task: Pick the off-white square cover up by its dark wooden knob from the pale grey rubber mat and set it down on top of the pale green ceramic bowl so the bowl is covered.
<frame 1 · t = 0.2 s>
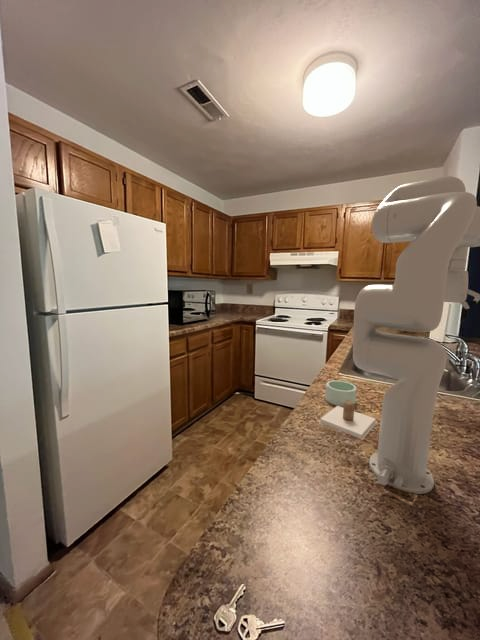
hand: (443, 319, 88), 31 cm above the worktop, tool pointing down, fingers open, 9 cm apart
mat: (347, 423, 82), on the worktop
cover: (347, 421, 82), point 1 cm above the worktop, touching mat
bowl: (339, 401, 97), on the worktop
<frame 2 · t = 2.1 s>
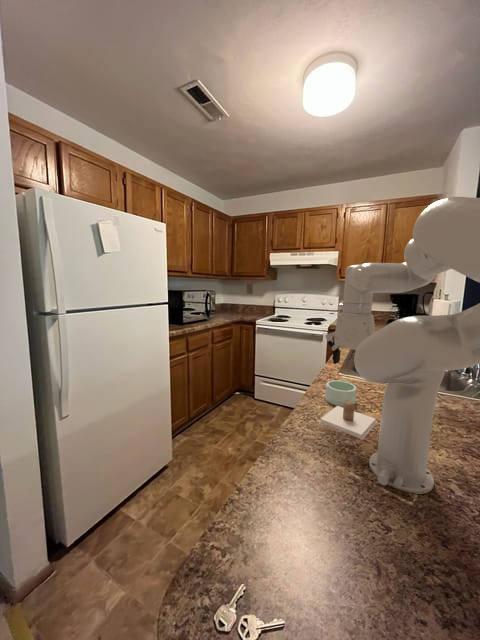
hand: (352, 366, 79), 18 cm above the worktop, tool pointing down, fingers open, 9 cm apart
nothing on the worktop moved.
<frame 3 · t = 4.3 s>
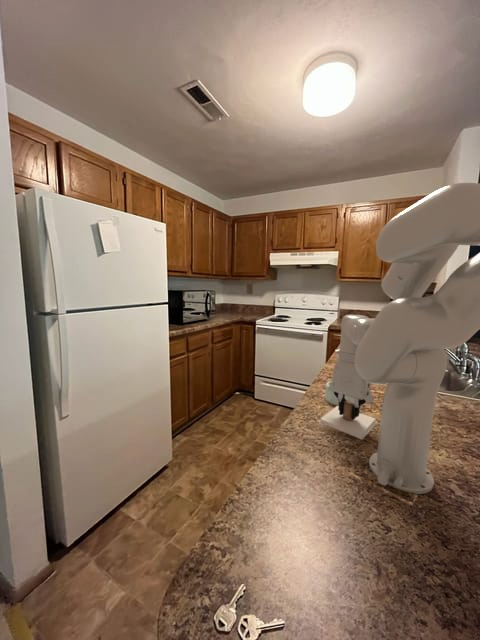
hand: (348, 414, 81), 3 cm above the worktop, tool pointing down, fingers closed on cover, 3 cm apart
cover: (347, 421, 82), point 1 cm above the worktop, touching gripper, mat
everything else where it was.
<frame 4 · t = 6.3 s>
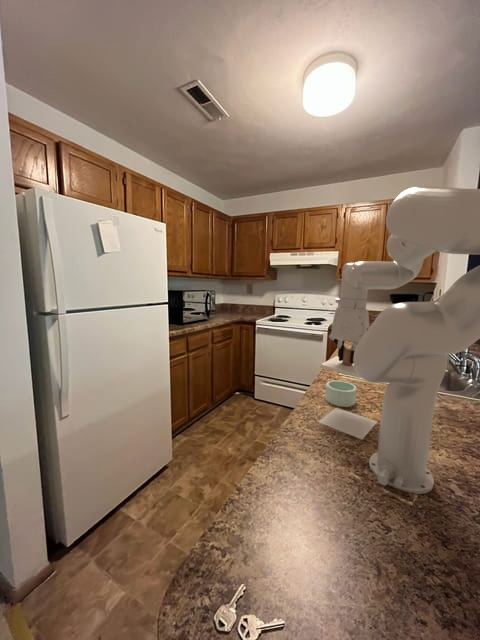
hand: (347, 360, 85), 18 cm above the worktop, tool pointing down, fingers closed on cover, 3 cm apart
cover: (346, 367, 86), point 16 cm above the worktop, touching gripper
everything else where it was.
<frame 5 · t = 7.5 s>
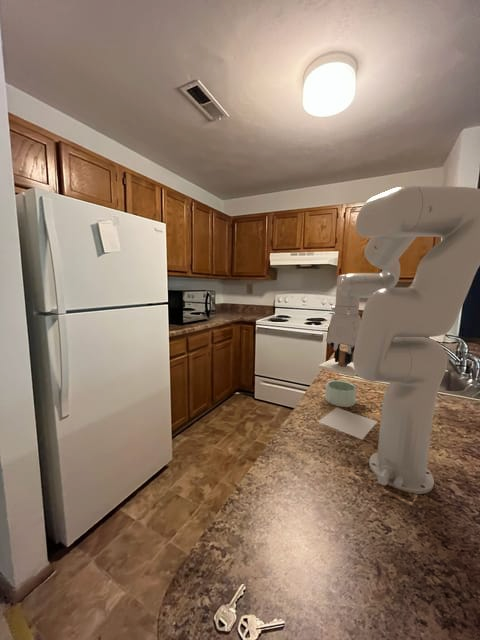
hand: (342, 362, 95), 15 cm above the worktop, tool pointing down, fingers closed on cover, 3 cm apart
cover: (342, 367, 95), point 13 cm above the worktop, touching gripper
everything else where it was.
when the fingers open (9 cm above the worktop, at t = 8.6 s): cover stays where it is, resting on bowl.
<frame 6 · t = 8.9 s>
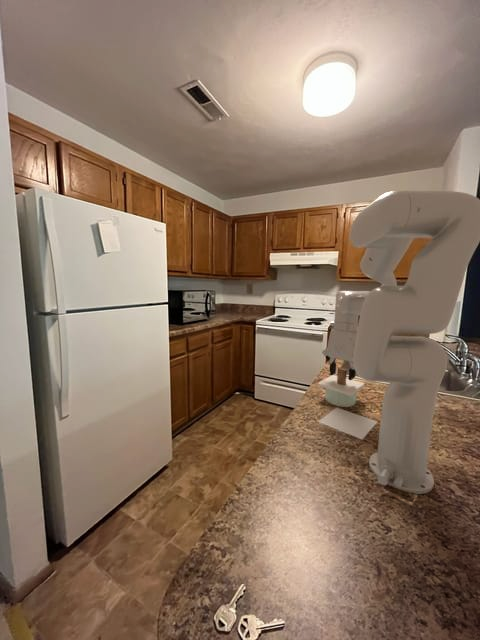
hand: (341, 376, 95), 10 cm above the worktop, tool pointing down, fingers open, 6 cm apart
cover: (341, 385, 96), point 6 cm above the worktop, touching bowl
everything else where it was.
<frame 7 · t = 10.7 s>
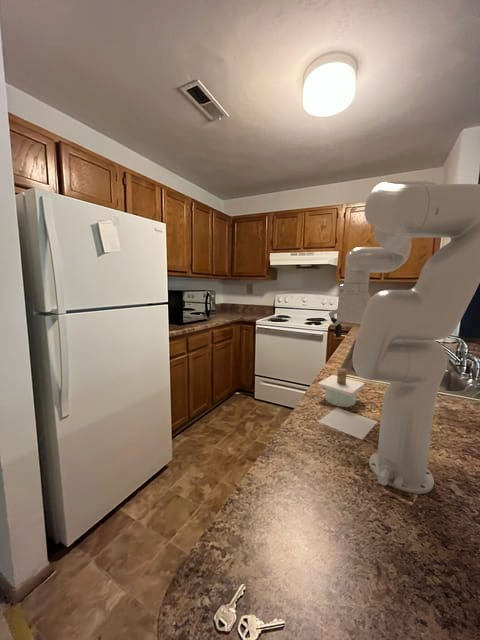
hand: (352, 338, 92), 23 cm above the worktop, tool pointing down, fingers open, 9 cm apart
nothing on the worktop moved.
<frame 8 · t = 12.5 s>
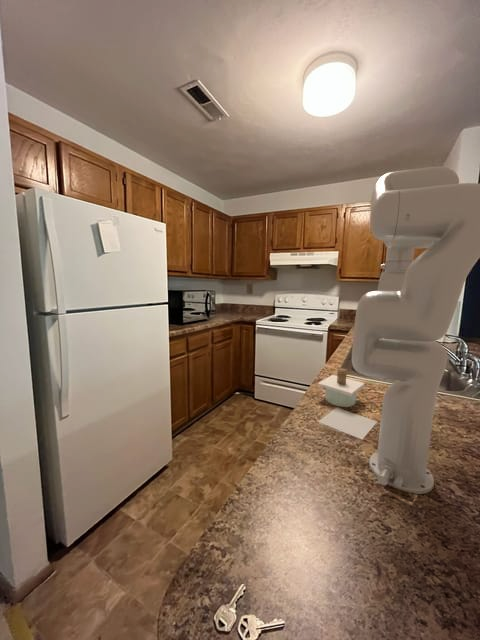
hand: (393, 321, 87), 30 cm above the worktop, tool pointing down, fingers open, 9 cm apart
nothing on the worktop moved.
at the end: cover 0.1 cm off-centre on the bowl, point 6.0 cm above the bowl's base; cover tilted 0°; the gripper is holding nothing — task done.
